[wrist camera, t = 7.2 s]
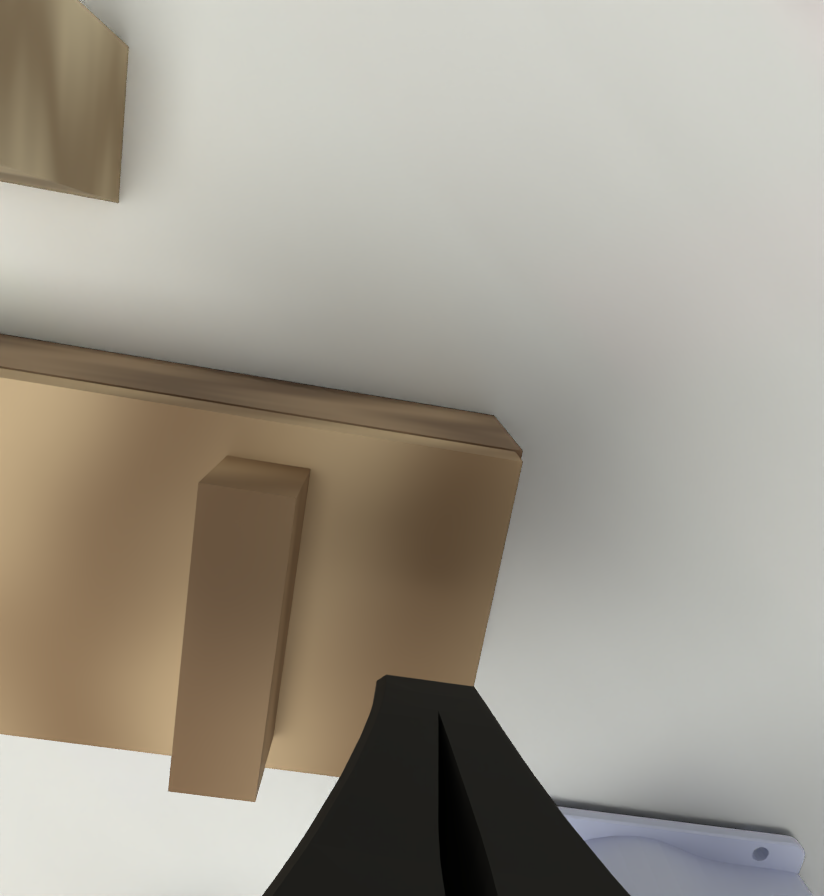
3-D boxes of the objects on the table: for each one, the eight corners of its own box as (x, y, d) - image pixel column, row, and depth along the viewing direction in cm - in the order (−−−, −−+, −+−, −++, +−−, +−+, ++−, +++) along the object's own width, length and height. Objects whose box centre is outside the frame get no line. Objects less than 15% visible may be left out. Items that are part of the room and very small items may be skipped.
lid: (515, 451, 13) (543, 489, 10) (447, 764, 15) (458, 862, 12) (-232, 330, 12) (-398, 339, 10) (-211, 679, 14) (-346, 765, 11)
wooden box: (494, 415, 17) (522, 450, 13) (443, 664, 19) (455, 759, 15) (-41, 326, 16) (-179, 336, 12) (-43, 596, 18) (-164, 679, 14)
